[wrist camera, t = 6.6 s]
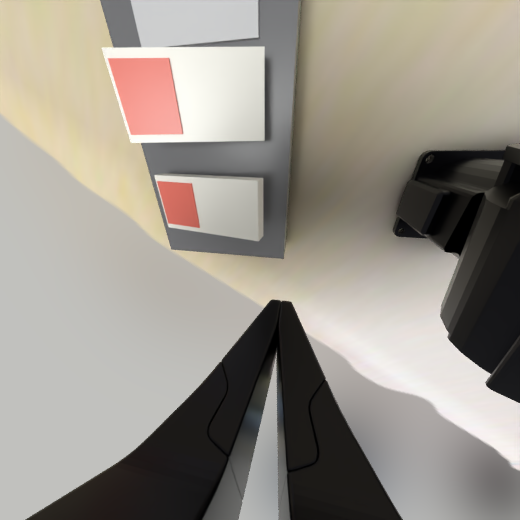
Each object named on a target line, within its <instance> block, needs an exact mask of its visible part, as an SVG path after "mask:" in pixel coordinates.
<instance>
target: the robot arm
mask: <svg viewBox="0 0 520 520" xmlns="http://www.w3.org/2000/svg"><path fill="white" fill-rule="evenodd" d="M429 155H431V159H430V161H428V162H426V158H427V157H428V156H429ZM397 215H398V218H397V220H396V223H395V226H394V228H393V233H394V234H395V235H396V236H399V237H413V238H428V239H430V240H431V241H432V242H433V243H435V244H436V245H437V246H438V247H440V248H441V249H442V250H444V251H445V252H448V253H452V254H453V255H455V256H456V257H457V258H459V261H458V264H457V266H456V269H455V271H454V274H453V277H452V279H451V282H450V284H449V287H448V290H447V292H446V295H445V297H444V300H443V303H442V305H441V314H440V317H441V319H442V321H443V323H444V325H445V327H446V329H447V331H448V332H449V334H448V339H449V340H450V341H451V342H452V343H453V345H454V346H455V347H456V348H457V349H458V350H459V351H460V352H461V353H463V354H464V355H465V356H466V357H468V358H469V359H470V360H472V361H473V362H474V363H475V364H477V365H478V366H479V367H481V368H482V369H484V370H485V371H487V372H489V373H490V374H491V375H490V377H489V378H488V380H487V381H486V382H485V383H486V385H487V387H488V388H490V389H491V390H493V391H495V392H497V393H499V394H501V395H503V396H506V397H508V398H510V399H512V400H514V401H516V402H518V403H520V143H518V144H511V145H507V147H506V150H461V151H427V152H425V153H423V154H422V155H421V157H420V158H419V161H418V164H417V166H416V169H415V172H414V174H413V177H412V180H411V181H410V182H408V183H407V186H406V189H405V191H404V194H403V197H402V200H401V202H400V205H399V208H398V211H397ZM402 228H403V230H402V231H401V232H398V231H399V230H400V229H402ZM276 352H277V426H278V427H277V432H278V505H279V506H278V507H279V520H403V519H402V518H401V516H400V515H399V513H398V511H397V510H396V508H395V506H394V505H393V503H392V501H391V500H390V498H389V496H388V494H387V492H386V491H385V489H384V488H383V485H382V484H381V482H380V480H379V479H378V477H377V475H376V473H375V471H374V470H373V468H372V466H371V464H370V462H369V461H368V459H367V457H366V456H365V454H364V452H363V450H362V449H361V447H360V445H359V443H358V441H357V440H356V438H355V436H354V435H353V432H352V431H351V429H350V427H349V425H348V423H347V421H346V419H345V418H344V416H343V414H342V412H341V410H340V408H339V406H338V404H337V402H336V400H335V397H334V395H333V393H332V391H331V389H330V387H329V385H328V382H327V381H326V380H325V379H326V378H325V376H324V374H323V371H322V369H321V367H320V365H319V363H318V360H317V358H316V356H315V354H314V351H313V349H312V347H311V344H310V342H309V340H308V338H307V336H306V333H305V331H304V329H303V327H302V324H301V322H300V320H299V318H298V315H297V313H296V311H295V309H294V306H293V304H292V302H289V301H282V302H281V301H280V300H271V301H270V302H269V303H268V304H267V305H266V307H265V308H264V309H263V310H262V312H261V313H260V314H259V315H258V316H257V318H256V319H255V320H254V321H253V323H252V324H251V325H250V326H249V327H248V329H247V330H246V331H245V332H244V334H243V335H242V336H241V337H240V338H239V340H238V341H237V342H236V343H235V345H234V346H233V347H232V348H231V349H230V351H229V352H228V353H227V355H225V357H224V358H223V359H222V362H220V363H219V364H218V365H217V366H216V367H215V369H214V370H213V371H212V372H211V374H210V375H209V376H208V377H207V378H206V379H205V380H204V381H203V383H202V384H201V385H200V386H199V387H198V388H197V389H196V390H195V391H194V392H193V393H192V394H191V395H190V396H189V397H188V398H187V399H186V400H185V402H183V403H182V404H181V405H180V406H179V407H178V408H177V409H176V410H175V411H174V412H173V413H172V414H171V415H170V416H169V417H168V418H167V419H166V420H165V421H164V422H163V423H162V424H161V425H160V426H159V427H158V428H157V429H156V430H155V431H154V432H153V433H152V434H151V435H150V436H149V437H148V438H147V439H146V440H145V441H144V442H143V443H142V444H141V445H140V446H138V447H137V448H136V449H135V450H134V451H133V452H131V453H130V454H129V455H127V456H126V457H125V458H123V459H122V460H121V461H119V462H118V463H116V464H115V465H113V466H112V467H110V468H108V469H107V470H105V471H103V472H102V473H100V474H99V475H97V476H95V477H94V478H92V479H91V480H89V481H87V482H86V483H84V484H83V485H81V486H79V487H78V488H76V489H74V490H73V491H71V492H69V493H68V494H66V495H65V496H63V497H62V498H60V499H58V500H57V501H55V502H53V503H52V504H50V505H48V506H47V507H45V508H44V509H42V510H40V511H39V512H37V513H35V514H34V515H32V516H31V517H29V518H27V519H26V520H238V519H239V514H240V510H241V506H242V500H243V497H244V492H245V488H246V484H247V479H248V475H249V471H250V466H251V462H252V458H253V453H254V449H255V445H256V440H257V436H258V432H259V427H260V423H261V419H262V414H263V410H264V406H265V401H266V397H267V392H268V388H269V384H270V380H271V375H272V371H273V367H274V362H275V358H276Z"/></svg>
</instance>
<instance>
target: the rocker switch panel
mask: <svg viewBox="0 0 520 520" xmlns="http://www.w3.org/2000/svg"><path fill="white" fill-rule="evenodd" d="M100 1H101V5H102V8H103V12H104V15H105V19H106V22H107V26H108V29H109V33H110V36H111V40H112V43H113V47H114V48H128V47H264V46H265V141H224V142H158V143H141V145H142V148H143V152H144V155H145V159H146V162H147V166H148V169H149V173H150V176H151V180H152V183H153V187H154V190H155V194H156V197H157V201H158V204H159V208H160V211H161V215H162V218H163V222H164V225H165V229H166V232H167V236H168V239H169V243H170V246H171V249H173V250H185V251H197V252H209V253H221V254H233V255H245V256H257V257H269V258H281V259H284V252H285V246H286V233H287V218H288V202H289V186H290V170H291V155H292V139H293V123H294V107H295V92H296V76H297V60H298V44H299V28H300V13H301V0H100ZM162 173H172V174H193V175H214V176H234V177H255V178H263V237H262V238H261V239H260V240H259V241H253V240H247V239H240V238H234V237H227V236H221V235H215V234H208V233H202V232H196V231H189V230H183V229H177V228H170V227H168V223H167V220H166V216H165V213H164V209H163V205H162V202H161V198H160V195H159V191H158V187H157V184H156V180H155V176H154V175H157V174H162Z"/></svg>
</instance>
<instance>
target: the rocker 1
mask: <svg viewBox="0 0 520 520" xmlns="http://www.w3.org/2000/svg"><path fill="white" fill-rule="evenodd" d="M102 51H103V54H104V58H105V61H106V64H107V67H108V70H109V74H110V77H111V80H112V83H113V87H114V90H115V93H116V96H117V100H118V103H119V106H120V109H121V112H122V116H123V119H124V122H125V125H126V129H127V132H128V135H129V138H130V142H131V143H158V142H224V141H265V46H264V47H128V48H102Z"/></svg>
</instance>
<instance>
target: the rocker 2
mask: <svg viewBox="0 0 520 520" xmlns="http://www.w3.org/2000/svg"><path fill="white" fill-rule="evenodd" d="M154 176H155V180H156V184H157V187H158V191H159V195H160V198H161V202H162V205H163V209H164V213H165V216H166V220H167V223H168V227H170V228H177V229H183V230H189V231H196V232H202V233H208V234H215V235H221V236H227V237H234V238H240V239H247V240H253V241H259V240H260V239H261V238H262V237H263V178H255V177H234V176H214V175H193V174H172V173H162V174H157V175H154Z"/></svg>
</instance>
